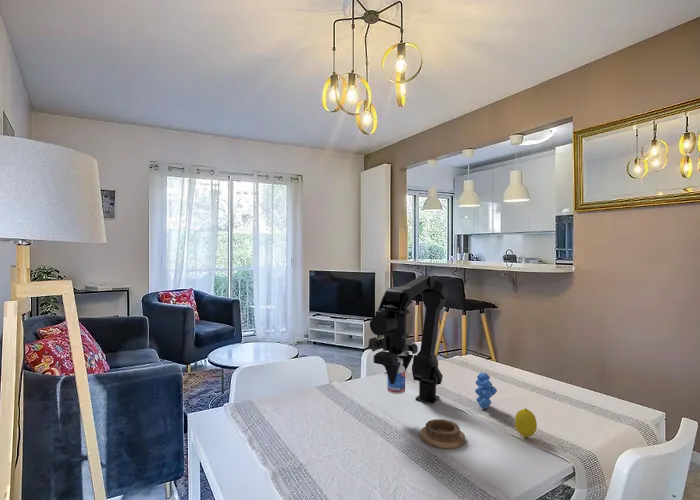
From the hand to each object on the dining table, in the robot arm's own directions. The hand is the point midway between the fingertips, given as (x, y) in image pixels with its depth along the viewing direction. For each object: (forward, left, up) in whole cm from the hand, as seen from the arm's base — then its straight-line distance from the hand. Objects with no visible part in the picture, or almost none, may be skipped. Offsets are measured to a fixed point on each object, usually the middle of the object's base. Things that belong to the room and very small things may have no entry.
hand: (396, 381), depth 122 cm
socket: (+4, +16, -12) cm, 20 cm away
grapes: (-23, +21, -12) cm, 33 cm away
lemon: (-9, +35, -12) cm, 38 cm away
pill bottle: (0, 0, -3) cm, 3 cm away
